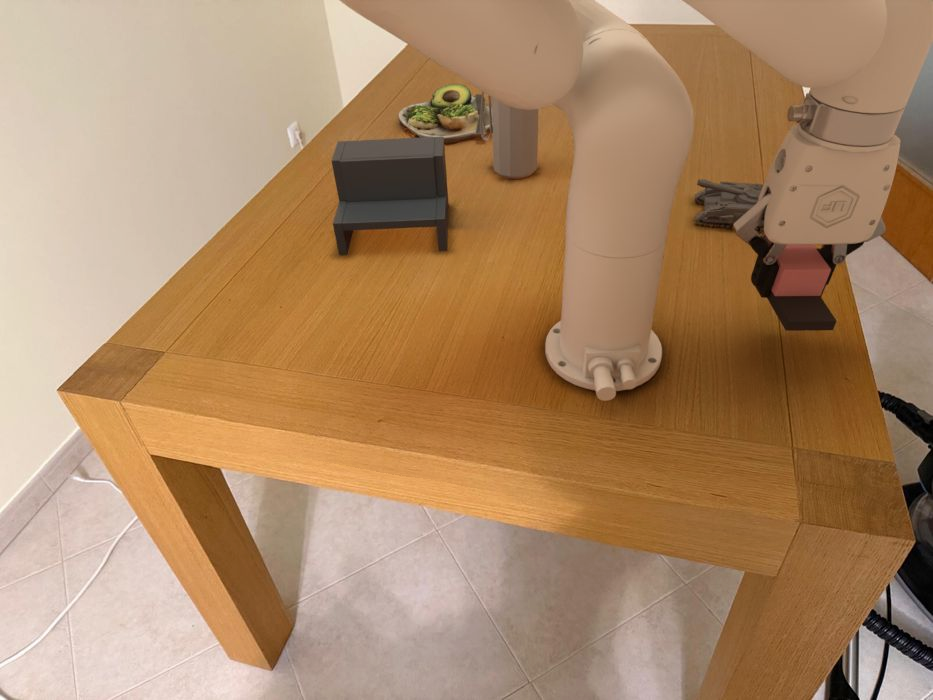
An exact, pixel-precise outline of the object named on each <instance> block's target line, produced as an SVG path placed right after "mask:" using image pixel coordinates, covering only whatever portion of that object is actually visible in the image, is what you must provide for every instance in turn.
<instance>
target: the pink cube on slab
mask: <svg viewBox="0 0 933 700" xmlns="http://www.w3.org/2000/svg"><path fill="white" fill-rule="evenodd" d="M816 248H817V247H816V246H815V245H786V247H785V248H784V250H783V251H782V253H781V254H780V256H779V257H778V259H777V260H776V262H777V264H778V265H779V270H778V273H777V276H776V279H775V281H774V284H773V287H772V291H771V293H770V295H769V296H768V297H767V298H766V299H767V301H768V302H769V304H770V307H771V308H772V309H773V311H774V313H775V315H776V316H777V318H778V320H779V322H780V324H781V326H782V327H783V329H784V331H786V332H791V331H792V332H801V331H804V332H808V331H809V332H810V331H811V332H814V331H820V332H821V331H834V328H835V326H836V325H837V319H836V317H835V316H834V314H833V313H832V311H831V310H830V308H829V307H828V305H827V304H826V302H825V301H824V300H823V297H822V296H821V293H822V291H823V288H824V286H825V284H826V281H827V279H828V276H829V274H830V271H831V269H830V267H829V266H828V264H827V263H826V262H825V260H824V259H823V258H822V256H821V255H820V253H819V252H818V251H817V249H816Z"/></svg>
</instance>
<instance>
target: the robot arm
mask: <svg viewBox="0 0 933 700" xmlns="http://www.w3.org/2000/svg"><path fill="white" fill-rule="evenodd" d="M339 1H340V2H341V3H342V4H344V5H345V6H346V7H347V8H349V9H350V10H352V11H353V12H355V13H356V14H358V15H359V16H361V17H362V18H364V19H366V20H368V21H369V22H371V23H372V24H374V25H376V26H377V27H379V28H380V29H382V30H384V31H386V32H387V33H389V34H390V35H393V36H394V37H395V38H397V39H399V40H400V41H402V42H403V43H405V44H406V45H408V46H410V47H411V48H412V49H414V50H416V51H417V52H419V54H421V55H423V56H425V57H426V58H428V59H429V60H431V61H433V62H435V64H438V65H440V66H441V67H443V68H444V69H445V70H448V71H450V72H451V73H452V74H455V75H456V76H458V77H459V78H461V79H462V80H464V81H466V82H467V83H469V84H470V85H473V86H474V87H475V88H477V89H478V90H480V91H481V92H482V91H483V92H484V94H486V95H487V96H488V95H489V96H490V98H491V99H492V98H494V99H496V100H497V101H499V102H501V103H503V104H505V105H508V106H511V107H514V108H517V109H525V110H534V109H538V110H542V109H545V108H548V107H550V106H554V107H556V108H558V109H559V110H561V111H562V112H563V113H565V116H566V119H567V123H568V126H569V128H570V130H571V132H572V138H573V163H572V171H571V175H570V181H569V186H568V192H567V203H566V214H565V241H564V242H565V243H564V258H563V259H564V260H563V276H562V277H563V278H562V294H561V311H560V312H561V313H560V320H559V321H557V323H555V324H554V325H553V326H552V327H551V328H550V330H549V332H548V333H547V336H546V338H545V343H544V344H545V345H544V346H545V348H544V349H545V352H544V354H545V357H546V361H547V363H548V365H549V366H550V368H551V369H552V370H553V371H554V373H556V374H557V375H558V376H559V377H561V378H562V379H563V380H565V381H566V382H568V383H570V384H572V385H574V386H577V387H580V388H583V389H586V390H591V391H595V396H596V397H597V399H598V400H600V401H602V402H604V401H605V402H608V401H612V400H613V399H614V398H615V397H616V395H617V392H621V391H626V390H630V391H631V390H633V389H635V388H636V387H639V386H642V385H643V384H644V383H646V382H648V381H650V380H651V379H652V377H654V376H655V375H656V373H657V371H658V370H659V368H660V366H661V363H662V359H663V358H662V357H663V346H662V342H661V341H660V338H659V337H658V335H657V334H656V333H655V332H654V330H653V329H652V328H653V320H654V315H655V310H656V304H657V298H658V292H659V286H660V280H661V274H662V269H663V262H664V257H665V251H666V245H667V241H668V240H667V238H668V231H669V226H670V221H671V215H672V211H673V205H674V200H675V196H676V193H677V188H678V185H679V181H680V179H681V177H682V176H681V175H682V173H683V171H684V169H685V168H684V167H685V166H686V163H687V159H688V156H689V154H690V150H691V147H692V144H693V138H694V131H695V116H694V108H693V104H692V101H691V98H690V95H689V92H688V90H687V88H686V86H685V84H684V83H683V81H682V80H681V78H680V76H679V75H678V74H677V73H676V71H675V70H674V68H672V66H671V65H670V64H669V63H668V61H666V59H665V58H664V57H663V56H662V55H661V54H660V53H659V52H658V51H657V49H655V47H654V45H652V43H651V42H650V41H649V40H648V39H647V38H646V37H645V36H644V35H643V34H642V33H641V32H640V31H638V30H637V29H636V28H635V27H633V26H632V25H630V24H629V23H628V22H626V21H625V20H623V19H622V18H621V17H619V16H618V15H616V14H615V13H614V12H612V11H611V10H609V9H608V8H606V7H605V6H603V5H602V4H601V3H600V2H598V1H597V0H339ZM681 1H682V2H683V3H685V4H686V5H688V6H690V7H691V8H692V9H694V10H695V11H696V12H698V13H699V14H700V15H702V16H703V17H704V18H706V19H707V20H708V21H710V22H711V23H712V24H714V25H715V26H716V27H718V28H719V29H720V30H722V32H724V33H725V34H727V35H728V36H729V37H730V38H732V39H733V40H735V41H736V42H737V43H738V44H740V45H741V46H742V47H744V48H745V49H746V50H748V51H749V52H750V53H752V54H753V55H754V56H755V57H757V58H758V59H760V61H762V62H763V63H764V64H766V65H767V66H768V67H770V68H771V69H773V71H775V72H777V73H778V75H780V76H781V77H783V78H784V79H785V80H787V81H788V82H789V83H791V84H793V85H796V86H799V87H803V88H807V89H809V91H808V92H807V93H805V97H804V100H803V102H802V103H799V104H797V105H796V104H795V105H792V104H791V105H790V106H789V108H788V109H787V115H786V116H787V117H786V118H787V121H788V122H796V124H793V125H791V127H790V129H789V130H788V132H787V133H786V135H785V137H784V139H783V141H781V144H780V146H779V147H778V149H777V152H776V154H775V156H774V158H773V160H772V162H771V165H770V167H769V169H768V172H767V173H766V177H765V179H764V181H763V183H762V184H763V187H762V190H761V193H760V196H759V199H758V202H757V204H755V205H754V206H753V207H752V208H751V209H750V210H749V211H747V212H746V213H745V214H744V215H743V216H742V217H741V218H739V219H738V220H737V221H736V222H735V223H734V224H733V226H732V228H731V229H732V230H733V231H734V233H735V235H736V236H737V237H738V238H739V239H740V240H742V241H743V242H744V243H746V244H747V245H748V246H749V247H751V249H752V250H753V251H754V252H755V253H756V254H757V256H756V259H755V263H754V266H753V269H752V272H751V276H750V282H751V284H752V285H753V286H754V287H755V289H756V291H757V292H758V294H759V296H760V298H762V299H763V298H766V299H767V297H768V296H769V295H770V293H771V291H772V287H773V284H774V281H775V279H776V276H777V273H778V270H779V265H778V264H777V262H776V260H777V259H778V257H779V256H780V254H781V253H782V251H783V250H784V248H785V247H786V245H814V246H815V245H821V247H820V248H817V247H815V248H816V249H817V251H818V252H819V253H820V255H821V256H822V258H823V259H824V260H825V262H826V263H827V264H828V266H829V267H830V269H831V271H830V274H829V276H828V279H827V281H826V284H825V286H824V288H823V291H822V293H821V297H822V296H823V294H824V292H825V289H826V287H827V286H828V285H829V284H830V282H831V279H832V277H833V275H834V272H835V269H836V267H837V265H842V264H843V263H844V262H845V261H846V258H847V256H848V255H851V254H852V253H853V252H855V251H857V250H858V249H859V248H861V247H862V246H864V244H865V243H868V242H870V241H872V240H874V239H875V238H878V237H880V236H882V235H883V234H885V232H886V231H887V227H886V225H885V223H884V220H883V217H882V215H883V212H884V209H885V207H886V205H887V201H888V198H889V195H890V193H891V189H892V185H893V182H894V178H895V175H896V170H897V166H898V161H899V155H900V149H901V143H902V141H901V139H900V138H899V137H898V136H897V135H896V130H897V128H898V126H899V123H900V122H901V119H902V116H903V114H904V111H905V109H906V107H907V104H908V101H909V99H910V96H911V94H912V92H913V89H914V87H915V85H916V82H917V80H918V77H919V75H920V73H921V71H922V69H923V66H924V64H925V61H926V58H927V56H928V53H929V51H930V49H931V47H932V45H933V0H681ZM761 222H762V223H764V231H762V233H760V232H758V230H754V229H755V228H756V227H757V226H758V225H759V224H760V223H761Z"/></svg>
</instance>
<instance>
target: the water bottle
mask: <svg viewBox="0 0 933 700" xmlns="http://www.w3.org/2000/svg"><path fill="white" fill-rule="evenodd" d="M484 94H485V93H484V92H483V91H481V95H482V100H481V113H480V132H481V136H480V137H481V139H482V141H486V142H487V141H489V140H490V139H491V137H492V158H493V161H492V162H493V171H494V173H496V174H497V175H498V176H500V177H502V178H506V179H510V180H515V179H523V178H524V179H525V178H527V177H530V176H531V175H532V174H534V173H535V172H536V170H537V169H538V154H539V153H538V152H539V151H538V149H539V148H538V147H539V109H534V110H525V109H517V108H514V107H511V106H508V105H505V104H503V103H501V102H499V101H497V100H496V99H494V98H492V97H491V96H489V95H487V98H488V100H487V101H488V107H489V121H490V128H489V135H488V136H485V135H484V134H483V129H482V112H483V98H485V95H484ZM491 109H492V115H491ZM492 123H493V126H492Z"/></svg>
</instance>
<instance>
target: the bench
mask: <svg viewBox="0 0 933 700" xmlns="http://www.w3.org/2000/svg"><path fill="white" fill-rule="evenodd" d="M331 165H332V171H333V176H334V181H335V182H334V183H335V187H336V192H337V193H336V194H337V198H338V204H337V206H336V207H337V208H336V210H335V213H334V218H333V222H332V227H333V231H334V237H335V241H336V247H337V252H338V256H348V255H349V251H350V247H351V242H352V238H353V234H354V231H369V230H371V231H372V230H393V229H396V230H397V229H414V228H415V229H419V228H436V238H437V250H438V251H437V252H448V243H449V215H450V213H449V211H450V210H449V209H450V206H449V205H450V204H449V203H450V202H449V191H448V189H449V188H448V177H447V176H448V175H447V163H446V149H445V143H444V137H423V138H421V137H406V138H405V137H404V138H384V139H364V140H363V139H361V140H340V141H339V140H338V141H337V142H336V146H335V148H334V152H333V154H332V157H331Z"/></svg>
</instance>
